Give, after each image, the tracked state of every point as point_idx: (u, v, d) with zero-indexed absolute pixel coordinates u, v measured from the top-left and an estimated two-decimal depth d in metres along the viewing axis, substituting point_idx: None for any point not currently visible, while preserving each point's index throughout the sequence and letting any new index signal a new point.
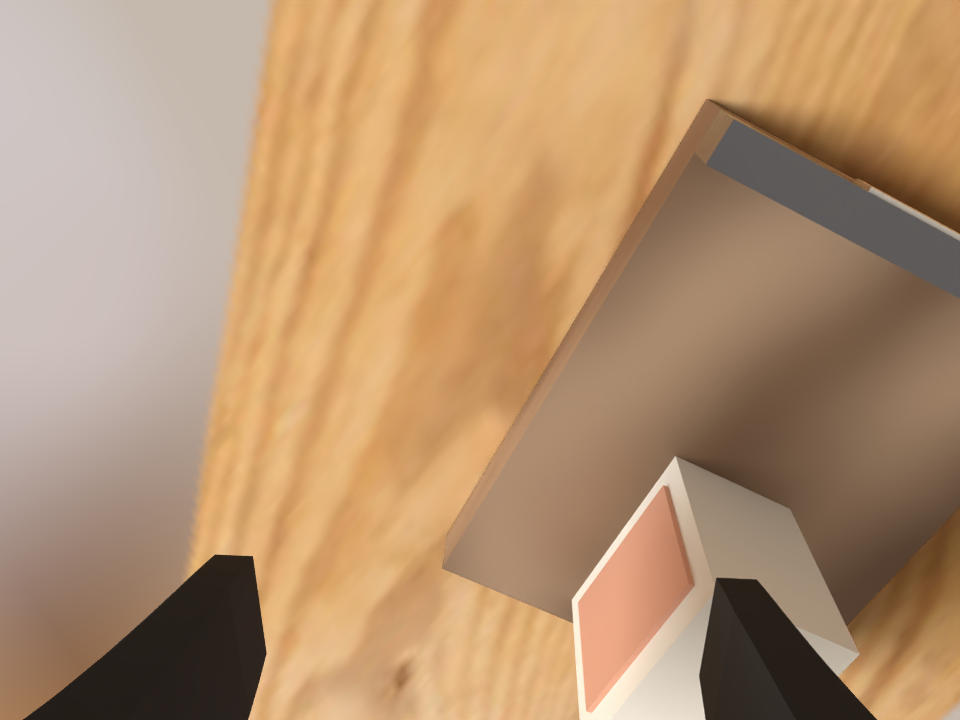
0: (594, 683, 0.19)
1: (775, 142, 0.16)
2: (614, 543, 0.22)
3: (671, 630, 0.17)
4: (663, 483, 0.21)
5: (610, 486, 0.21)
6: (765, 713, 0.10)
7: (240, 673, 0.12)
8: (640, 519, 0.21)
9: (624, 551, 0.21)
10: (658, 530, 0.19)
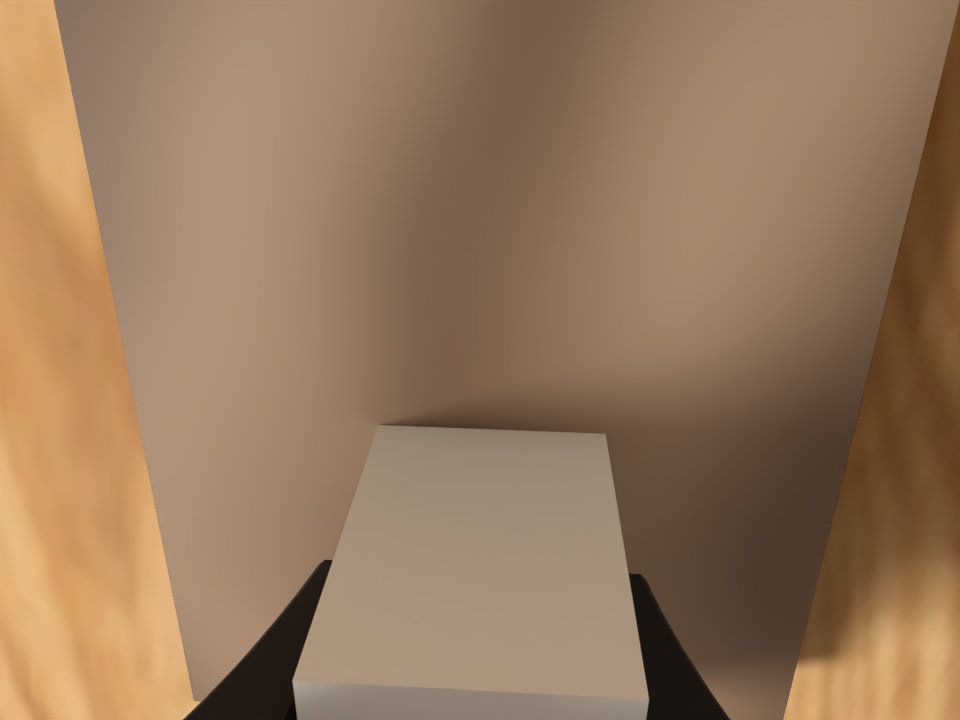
0: None
1: None
2: None
3: None
4: None
5: (318, 506, 0.13)
6: None
7: None
8: None
9: None
10: None
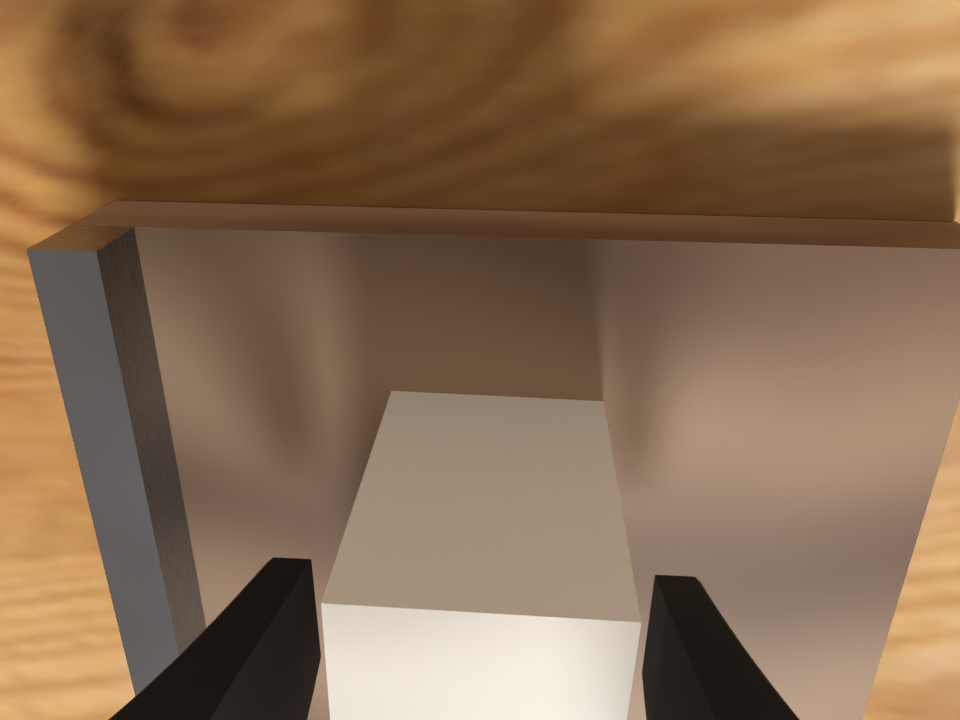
0: None
1: None
2: None
3: None
4: None
5: None
6: (691, 709, 0.10)
7: (300, 676, 0.12)
8: None
9: None
10: None
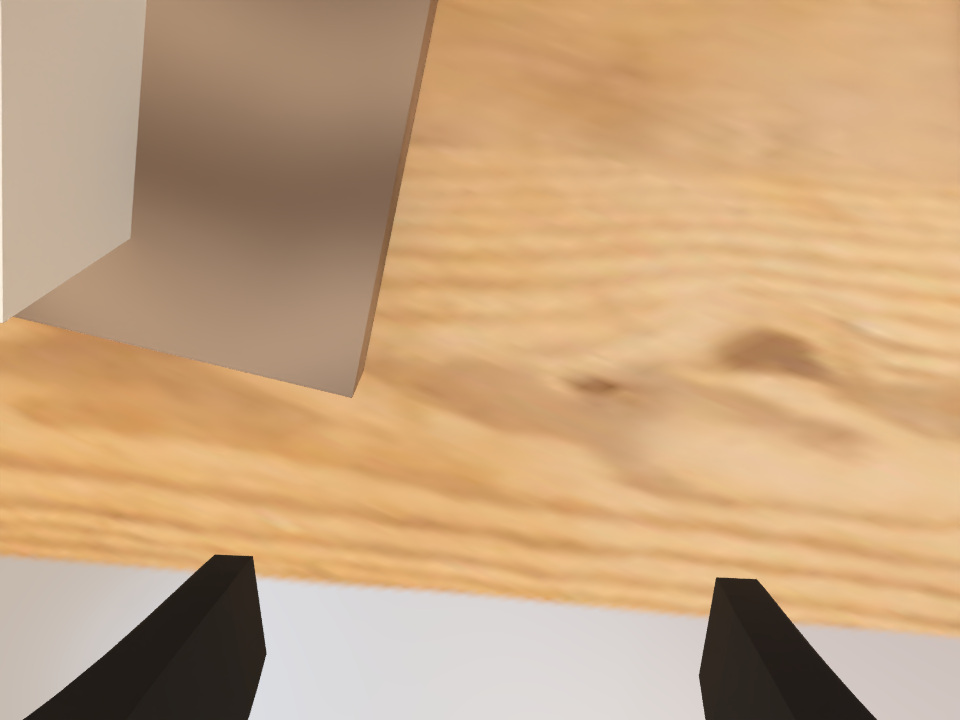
0: None
1: None
2: None
3: None
4: None
5: (175, 249, 0.19)
6: (765, 713, 0.10)
7: (240, 673, 0.12)
8: None
9: None
10: None
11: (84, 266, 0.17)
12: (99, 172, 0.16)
